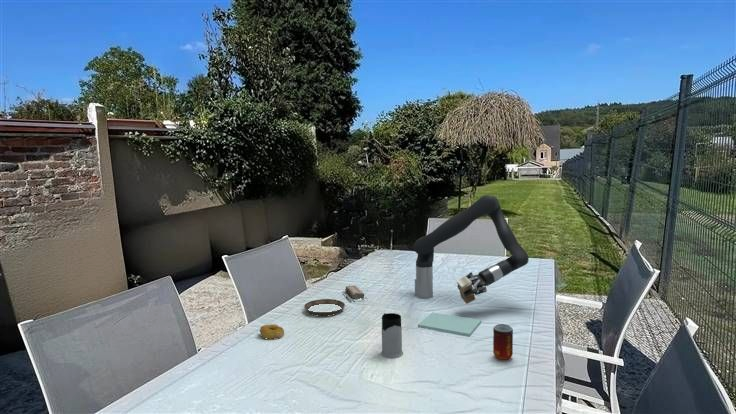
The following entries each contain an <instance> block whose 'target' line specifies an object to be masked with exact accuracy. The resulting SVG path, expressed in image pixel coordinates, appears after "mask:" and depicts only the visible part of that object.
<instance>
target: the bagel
mask: <svg viewBox="0 0 736 414" xmlns="http://www.w3.org/2000/svg"><path fill="white" fill-rule="evenodd" d="M259 334H260V336H262V337H261V338H262V339H263V338H267V339H266V340H268V339H270V340H274V339H273V338H278V339H281V338H283V336H284V335H285V330H284V328H283V327H282V326H279V325H277V324H271V323H270V324H266V325H262V326H260V328H259ZM280 337H281V338H280Z"/></svg>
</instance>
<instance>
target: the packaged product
mask: <svg viewBox="0 0 736 414" xmlns="http://www.w3.org/2000/svg"><path fill="white" fill-rule="evenodd" d="M343 293H344V294H345V295H346V297H347V298H348V299H349V300H350V301H354V300H358V299H360V298H361V299H362V300H364V299H367V300H368V298H367V297H366V296H365V293H364V292H363V291H362V290H361V289H360V288H359V287H358V286H357V285H353V284H352V285H347V286H345V290H343V291H342V294H343ZM344 294H343V295H344ZM364 296H365V298H364ZM346 297H345V298H346ZM347 298H346V299H347ZM348 299H347V300H348ZM349 300H348V301H349Z"/></svg>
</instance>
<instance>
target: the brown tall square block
mask: <svg viewBox="0 0 736 414" xmlns="http://www.w3.org/2000/svg"><path fill="white" fill-rule="evenodd" d="M466 276H467V275H465V276H463V277H462V278H459V279H457V280H456V284H457V286H458V287H459V289H458V290H459V293H460V294H459V295H460V297H461V299H462V300H463V302H465V304H468V305H469V303H471V302H473V301H475V300H476V295H475V294H474V293H471V294H470V295H468V296H464V294H463V293H464V292H465V291H467V290H469V289H471V288H472V287H473V285H472V284H471V283H472V282H471V281H470V280H469V279H468V278H467V277H466ZM458 287H457V288H458Z"/></svg>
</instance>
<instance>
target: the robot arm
mask: <svg viewBox="0 0 736 414" xmlns="http://www.w3.org/2000/svg"><path fill="white" fill-rule="evenodd" d="M500 204H501V203H500V201H499V199H498V197H496V196H495V195H492V194H485V195H482V196H481V197H479V198H478V199H477V200H475V202H473V203H472V204H471V205H470V206H468V207H467V208H465V209H463V210H461V211H460V212H458V213H456V214H455V215H453V216H451V217H450V218H448V219H447V220H446V221H444V222H443V223H442V224H440V225H439V226H437V227H436V228H435V229H434V230H433V231H431V232H430V233H428V234H427V235H425V236H421V237H420V238H418V239H416V240H415V242H414V245H413V250H414V252H415V253H416V254H417V256H416V260H415V279H414V297H417V298H420V299H429V298H430V299H431V298H433V296H434V291H433V290H434V289H433V288H434V277H433V274H434V273H433V271H434V270H433V269H434V265H433V263H434V256H435V247H437V246H438V245H440V244H441V243H444V242H445V241H448V240H450V239H451V238H453V237H456V236H457V235H459V234H461V233H462V232H464V231H465V230H466V229H467V228H469V227H470V225H471V224H473V222H474V221H476V220H477V219H479V218H480V217H482V216H485V215H486V214H487V215H488V216H489V218H490V219H491V221H492V222H493V225H494V227H495V230H496V233H497V236H498V237H499V240H500V242H501V244H502V246H503V247H504V249H505V251H509V254H511V256H509V257H507V258H506V259H504V260H501V261H499V262H497V263H494V264H493V265H490V266H489V267H487V268H484V269H483V270H481V271H479V272H478V274H473V272H472V271H471V272H469V273H468V274H467V275H465V276H466V277H467V278H468V279H469V280H470V281H471V284H472V288H471V289H469V290H467V291H465V292H464V293H463V294H464V296H468V295H470V294H471V293H474V295H475V296H479V295H481V294H484V293H486V292H487V291H488V290H487V287H488V286H490V285H491V284H494V283H496V282H498V281H499V280H501V279H502V278H504V277H506V276H507V275H510V273H512V272H514V271H516V270H518V269H520V268H522V267H525V266H526V265H527V264H528V263H529V256H528V253H527V252H526V250H525V249H524V248H523V247H522V245H521V244H520V243H519V242H518V240H517V238H516V236H515V234H514V232H513V230H512V229H511V227H510V225H509V224H508V221H507V219H506V217H505V215H504V213H503V210H502V207H501V205H500ZM457 289H458V290H459V287H458V285H457Z"/></svg>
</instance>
